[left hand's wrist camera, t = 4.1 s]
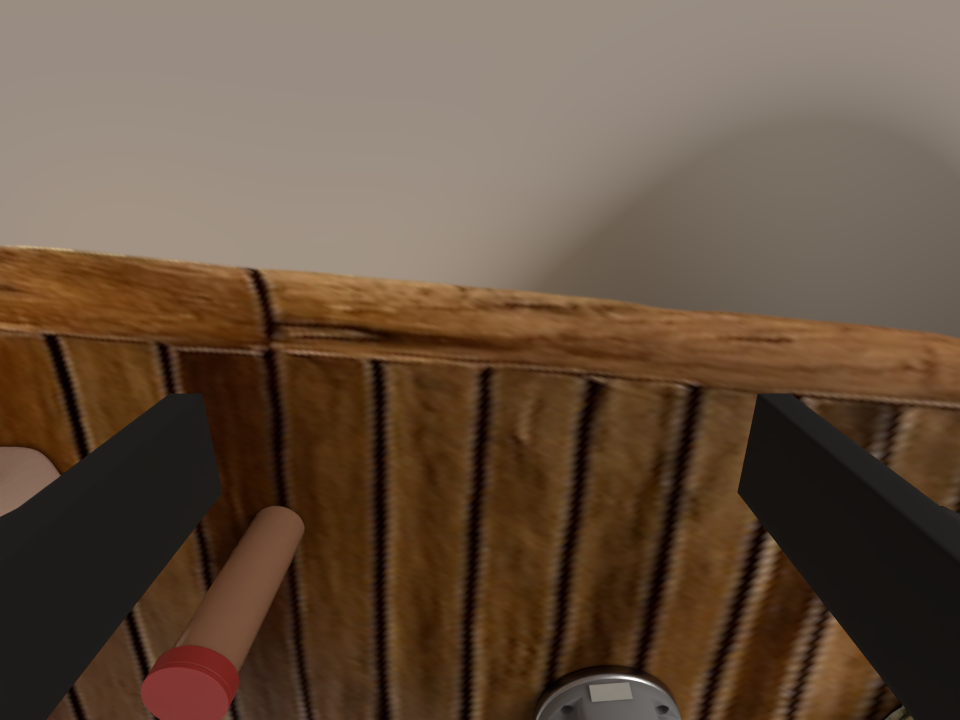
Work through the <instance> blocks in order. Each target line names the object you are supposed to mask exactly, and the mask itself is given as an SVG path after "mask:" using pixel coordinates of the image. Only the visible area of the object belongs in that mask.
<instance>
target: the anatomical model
mask: <svg viewBox="0 0 960 720" xmlns="http://www.w3.org/2000/svg"><path fill="white" fill-rule="evenodd" d="M58 477H60V474H59V472H58V471H57V469H56V468H55V467H54V465H53V464H52V463H51V461H50V460H49V459H48V458H46V457H45V456H44V455H43V454H42V453H40V452H38V451H36V450H33V449H30V448H25V447H0V517H1V516H3V515H5V514H7V513H9V512H11V511H13V510H14V509H16V508H18V507H20V506H21V505H22V504H24V503H25V502H26V501H28V500H29V499H30V498H32V497H33V496H34V495H36V494H37V493H38V492H40V491H41V490H42V489H44V488H45V487H46V486H48V485H49V484H50V483H52V482H53V481H54V480H56V479H57V478H58Z"/></svg>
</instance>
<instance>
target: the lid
mask: <svg viewBox="0 0 960 720" xmlns="http://www.w3.org/2000/svg"><path fill="white" fill-rule="evenodd" d="M238 686H239V676H238V673H237V670H236V668H235V667H234V665H233V664H232V663H231V662H230V661H229V660H228V659H227V658H226V657H224V656H223V655H221V654H220V653H218V652H216V651H214V650H211V649H209V648H205V647H201V646H194V645H186V646H179V647H175V648H172V649H170V650H168V651H166V652H165V653H163V654H162V655H161V656H160V657H159V659H158V660H157V661H156V663H155V665H154V666H153V668H152V669H151V671H150V672H149V674H148V675H147V677H146V679H145V680H144V682H143V684H142V687H141V697H142V700H143V702H144V704H145V706H146V707H147V709H148V710H149V711H150V712H151V713H152V714H153V715H155V716H156V717H157V718H159V719H161V720H221V719H222V718H223V717H224V716H225V714H226V713H227V711H228V709H229V706H230V704H231V702H232V700H233V698H234V696H235V693H236V691H237V689H238Z"/></svg>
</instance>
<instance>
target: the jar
mask: <svg viewBox="0 0 960 720" xmlns="http://www.w3.org/2000/svg"><path fill="white" fill-rule="evenodd" d="M303 535H304V524H303V521H302V520H301V518H300V517H299V516H298V515H297V514H296V513H295V512H294V511H292V510H290V509H288V508H285V507H281V506H270V507H266V508H264V509H262V510H261V511H259V512H258V513H257V514H256V516H255V517H254V519H253V521H252V522H251V524H250V525H249V527H248V528H247V530H246V532H245V533H244V535H243V536H242V538H241V540H240V541H239V543H238V544H237V546H236V547H235V549H234V551H233V552H232V554H231V555H230V557H229V559H228V560H227V562H226V563H225V565H224V566H223V568H222V570H221V571H220V573H219V574H218V576H217V578H216V579H215V581H214V582H213V584H212V585H211V587H210V589H209V590H208V592H207V593H206V595H205V596H204V598H203V600H202V601H201V603H200V604H199V606H198V608H197V609H196V611H195V612H194V614H193V615H192V617H191V619H190V620H189V622H188V623H187V625H186V627H185V628H184V630H183V631H182V633H181V634H180V636H179V638H178V639H177V641H176V642H175V644H174V646H173V647H172V648H175V647H179V646H186V645H194V646H201V647H205V648H209V649H211V650H214V651H216V652H218V653H220V654H221V655H223V656H224V657H226V658H227V659H228V660H229V661H230V662H231V663H232V664H233V665H234V667H235V668H236V670H237V673H238V674H239V672H240V670H241V667H242V665H243V663H244V661H245V659H246V657H247V655H248V653H249V650H250V648H251V646H252V644H253V642H254V640H255V638H256V636H257V633H258V631H259V629H260V627H261V625H262V623H263V621H264V619H265V616H266V614H267V612H268V610H269V608H270V606H271V604H272V602H273V599H274V597H275V595H276V593H277V591H278V589H279V587H280V585H281V582H282V580H283V578H284V576H285V574H286V572H287V570H288V568H289V565H290V563H291V561H292V559H293V557H294V555H295V553H296V551H297V548H298V546H299V544H300V542H301V540H302V538H303Z"/></svg>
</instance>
